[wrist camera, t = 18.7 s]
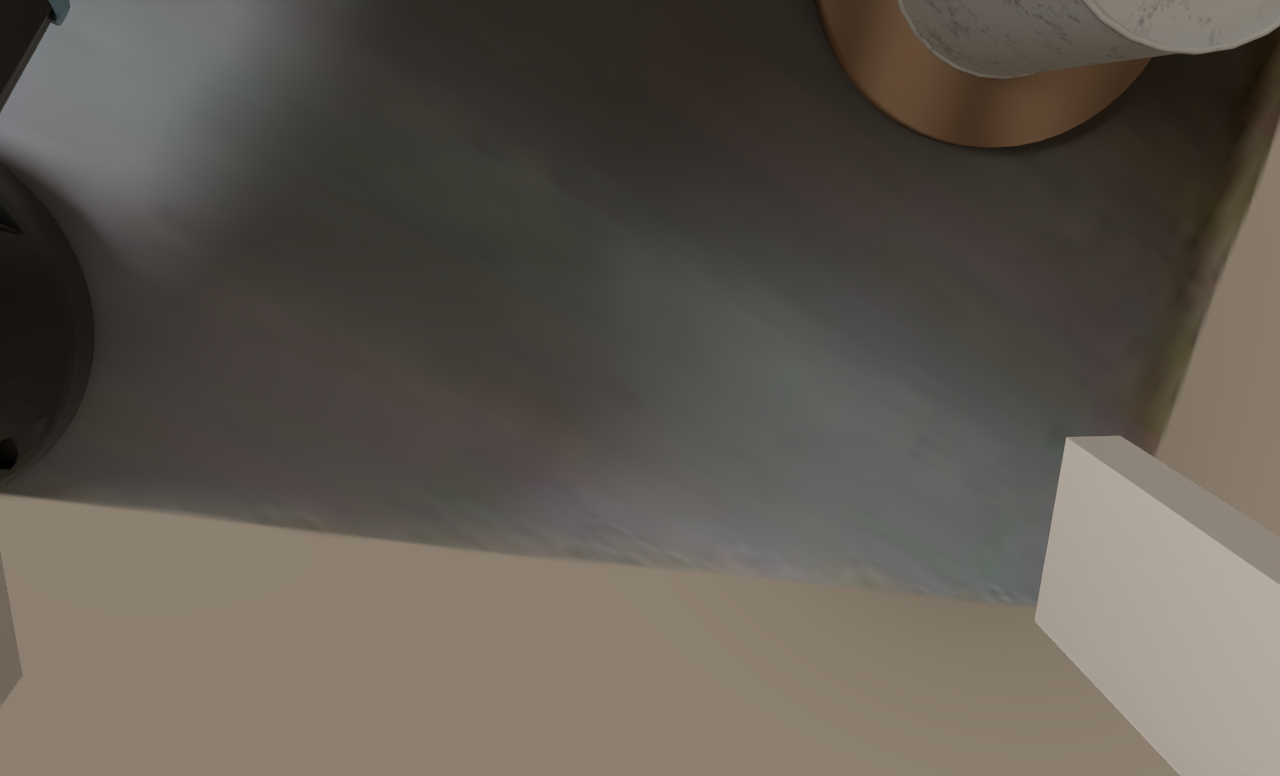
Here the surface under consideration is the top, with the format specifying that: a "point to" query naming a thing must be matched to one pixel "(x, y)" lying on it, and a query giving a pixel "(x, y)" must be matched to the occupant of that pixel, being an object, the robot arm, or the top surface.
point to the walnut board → (960, 83)
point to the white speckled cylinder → (1079, 31)
